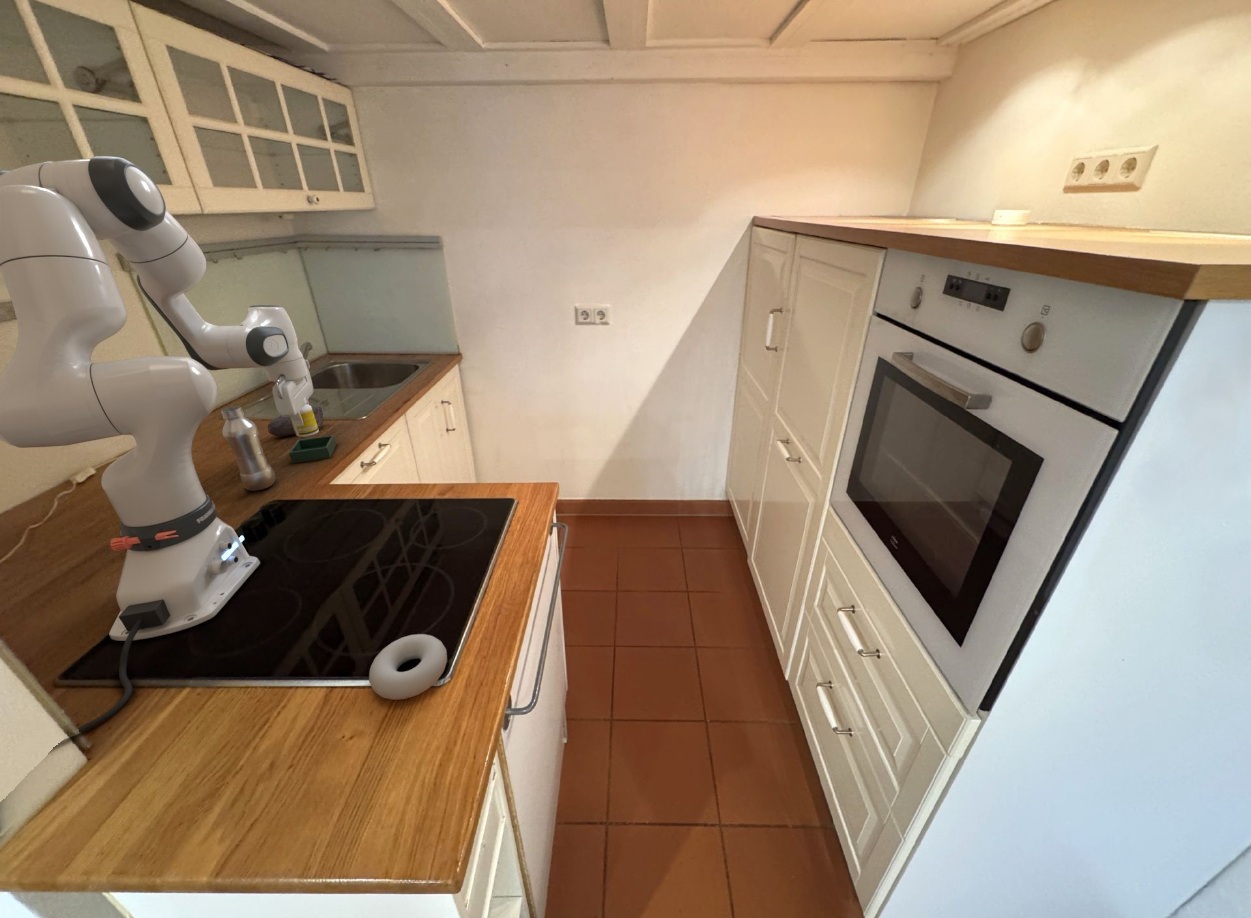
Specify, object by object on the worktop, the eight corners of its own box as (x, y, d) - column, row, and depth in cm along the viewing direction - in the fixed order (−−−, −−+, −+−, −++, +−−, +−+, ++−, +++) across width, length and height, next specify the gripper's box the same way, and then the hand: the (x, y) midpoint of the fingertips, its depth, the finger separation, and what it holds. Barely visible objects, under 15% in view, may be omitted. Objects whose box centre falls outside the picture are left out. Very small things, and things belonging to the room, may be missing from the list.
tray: (330, 457, 134) (326, 447, 133) (292, 463, 132) (288, 452, 130) (336, 444, 142) (333, 435, 140) (301, 449, 139) (297, 439, 138)
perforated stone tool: (272, 442, 145) (263, 419, 142) (270, 436, 149) (262, 414, 146) (329, 428, 153) (322, 407, 150) (326, 424, 157) (319, 403, 154)
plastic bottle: (239, 490, 119) (206, 411, 110) (269, 478, 124) (239, 402, 115) (255, 496, 116) (221, 416, 107) (284, 483, 121) (254, 406, 112)
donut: (393, 720, 63) (463, 669, 69) (386, 702, 61) (458, 652, 68) (360, 678, 69) (427, 635, 75) (353, 660, 67) (422, 617, 74)
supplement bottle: (323, 431, 135) (312, 396, 131) (304, 438, 131) (292, 403, 126) (311, 428, 137) (299, 394, 133) (291, 435, 133) (279, 400, 129)
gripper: (289, 380, 118) (307, 433, 124) (309, 359, 136) (324, 407, 142) (259, 383, 117) (279, 437, 123) (283, 361, 134) (299, 410, 140)
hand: (303, 421), depth 132 cm, fingers closed on supplement bottle, 5 cm apart
